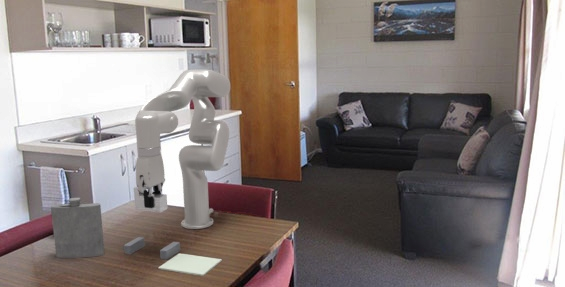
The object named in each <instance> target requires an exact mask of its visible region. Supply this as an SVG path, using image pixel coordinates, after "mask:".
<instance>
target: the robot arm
mask: <svg viewBox="0 0 565 287" xmlns="http://www.w3.org/2000/svg"><path fill="white" fill-rule="evenodd" d="M229 79H230V78H228V77H227V75H224V74H222V73H220V72H218V71H215V70H214V69H213V70H212V69H205V68H203V69H202V68H201V69H199V68H198V69H194V68H193V69H187V70H183V71H182V73H181V74H180V75H179V76H178V77H177V78H176V80H175V81H174V83H172V85H171V86H170V88H169V89H168V90H165V91H164V92H161V93H160V94H158V95H156V96H154V97H152V98H151V99H149V100H148V101H146V102H145V103H144V104H143V105H142V107H140V109H139V111H138V112H137V113H136V114H137V115H136V116H135V117H134V118H135V120H134V121H135V122H134V123H135V124H134V125H135V137H136V147H137V148H136V150H137V157H136V161H135V162H136V164H135V184H136V187H138V189H137V191H139V192H140V193H141V194H142V196H144V206H145V208H153V207H154V206H153V196H151V194H152V193H155V194H162V192H163V186H164V184H165V182H166V178H165V166H164V160H163V155H162V145H161V135H163V134H170V133H173V132H174V131H175V130H176V129H177V128H178V126H179V119H178V116H177V115H176V114H175V113H174V112H175V111H178V110H182V109H184V108H186V107H187V106H188V105H189V104H190V103H191V101H192V103H193V108H194V109H193V113H192V118H191V122H190V125H189V131H188V138H189V141H190V142H192V143H193V145H191V144H190V145H189V144H188V145H185V146H183V147H182V148H180V150H179V154H178V161H179V165H180V170H181V174H182V176H181V177H182V189H183V190H182V191H183V207H184V208H183V210H184V219H182V221H181V223H180V226H181V227H182V228H184V229H189V230H199V229H200V230H201V229H206V228H209V227H211V226H212V225H213V224H214V218H212V217H210V215H212V214H213V213H214V209H213V208H212V207H211V208H210V207H209V204H210V203H209V183H208V178H207V175H206V173H205V171H206V172H207V171H209V172H218V171H219V170H221V169H222V168H223V165H224V163H225V159H226V154H227V150H228V144H229V139H230V128H229V125H228V124H227V123H226V122H225V121H223V120H215V116H216V108H215V106H214V105H213V103H212V102H211V100H210V99H209V98H224V97H227V96H228V95H229V93H230V92H231V82H230V80H229ZM197 144H198V145H197ZM152 190H153V191H152Z"/></svg>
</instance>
